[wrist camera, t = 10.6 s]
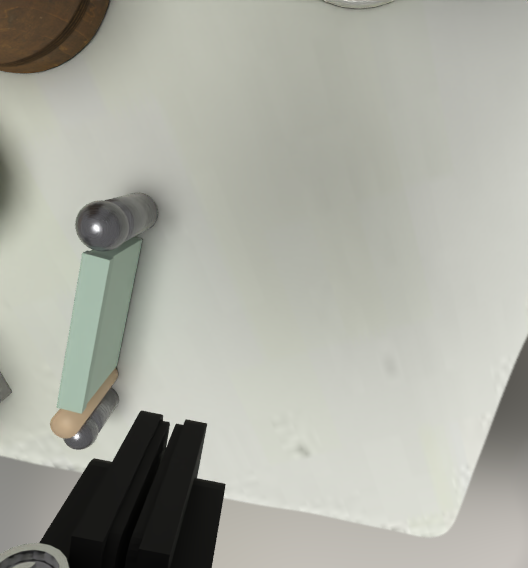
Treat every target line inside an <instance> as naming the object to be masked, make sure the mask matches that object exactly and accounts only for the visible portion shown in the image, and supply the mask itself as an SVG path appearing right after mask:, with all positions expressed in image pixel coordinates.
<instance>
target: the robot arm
mask: <svg viewBox="0 0 528 568" xmlns="http://www.w3.org/2000/svg"><path fill="white" fill-rule="evenodd" d="M323 1H325V2H328V3H331V4H334V5H337V6H340V7H348V8H357V9H359V8H369V7H376V6H380V5H383V4H386V3H389V2H392V1H394V0H323ZM169 426H170V422H165V421H163V415H161V414H156V413H151V412H146V411H140V413H139V414H138V416H137V418H136V420H135V422H134V424H133V425H132V427H131V429H130V431H129V433H128V434H127V436H126V438H125V440H124V442H123V443H122V445H121V447H120V449H119V451H118V452H117V454H116V456H115V458H114V460H113V462H110V461H105V460H100V459H95V458H94V459H93V460H91V462H90V463H89V464H88V466H87V468H86V469H85V471H84V472H83V474H82V476H81V477H80V479H79V480H78V482H77V484H76V485H75V487H74V489H73V490H72V492H71V493H70V495H69V496H68V498H67V500H66V501H65V503H64V504H63V506H62V507H61V509H60V511H59V512H58V514H57V515H56V517H55V519H54V520H53V522H52V523H51V525H50V527H49V528H48V530H47V531H46V533H45V535H44V537H43V538H42V540H41V541H40V543H32V544H24V545H20V546H16V547H13V548H10V549H9V550H7V551H5V552H3V553H1V554H0V568H212V562H213V556H214V550H215V544H216V538H217V532H218V526H219V520H220V515H221V509H222V503H223V497H224V491H225V484H223V483H218V482H213V481H208V480H203V479H197V475H198V469H199V464H200V459H201V454H202V448H203V443H204V438H205V433H206V427H207V423H202V422H196V421H191V420H185V422H184V425H181V424H176V425H175V427H174V430H173V432H172V435H171V437H170V440H169V442H168V445H167V439H168V433H169ZM166 445H167V447H166Z"/></svg>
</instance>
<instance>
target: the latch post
mask: <svg viewBox="0 0 528 568" xmlns="http://www.w3.org/2000/svg"><path fill="white" fill-rule="evenodd" d="M118 402H119V398H118V394H117V393H116V391H115V390H114V389H112V388H110V389H109V390H108V392H107V393H106V394H105V396H104V397H103V398H102V400H101V401H100V403H99V404H98V405H97V407H96V408H95V409H94V411H93V412H92V413H91V415H90V416H89V417H88V419H87V420H86V421H85V423H84V424H83V426H82V427H81V428H80V430H79V431H78V432H77V434H76V435H75V436H73V437H71V438H63V439H64V441H65V443H66V444H67V445H68V446H69V447H70V448H72V449H76V450H81V449H85V448H87V447H89V446H90V445H92V444H93V443H94V441H95V440H96V438H97V436H98V433H99V432H100V430H101V429H102V427H103V426H104V424H105V423H106V421H107V420H108V418H109V417H110V415H111V414H112V412H113V410H114V409H115V407H116V406H117V404H118Z"/></svg>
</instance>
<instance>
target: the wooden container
mask: <svg viewBox="0 0 528 568" xmlns="http://www.w3.org/2000/svg"><path fill="white" fill-rule="evenodd" d="M108 3H109V0H0V71H5V72H12V73H35V72H41V71H44V70H48V69H51V68H53V67H56V66H58V65H60V64H62V63H64V62H66V61H67V60H69V59H71V58H72V57H74V56H75V55H76V54H77V53H78V52H80V51H81V50H82V49H83V48H84V47H85V46H86V45H87V44H88V43H89V41H90V40H91V39H92V37H93V36H94V34H95V33H96V31H97V29H98V28H99V26H100V24H101V22H102V20H103V18H104V15H105V12H106V10H107V7H108Z"/></svg>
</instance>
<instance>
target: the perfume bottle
mask: <svg viewBox="0 0 528 568" xmlns="http://www.w3.org/2000/svg"><path fill="white" fill-rule="evenodd" d="M11 393H12V391H11V389H10V388H9V386H8V384H7V383H6V381H5V379H4V377H3V376H2V374H1V372H0V402H1V401H3V400H4V399H5V398H6V397H7V396H8V395H9V394H11Z"/></svg>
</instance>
